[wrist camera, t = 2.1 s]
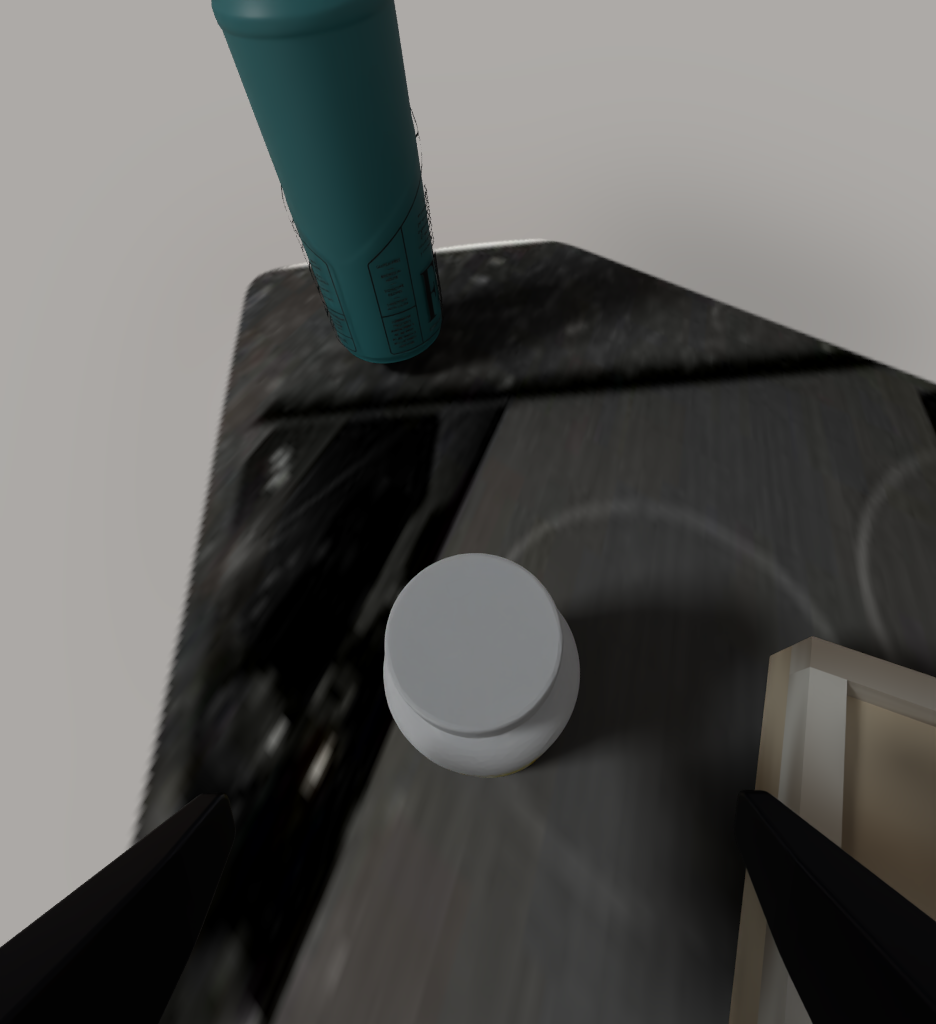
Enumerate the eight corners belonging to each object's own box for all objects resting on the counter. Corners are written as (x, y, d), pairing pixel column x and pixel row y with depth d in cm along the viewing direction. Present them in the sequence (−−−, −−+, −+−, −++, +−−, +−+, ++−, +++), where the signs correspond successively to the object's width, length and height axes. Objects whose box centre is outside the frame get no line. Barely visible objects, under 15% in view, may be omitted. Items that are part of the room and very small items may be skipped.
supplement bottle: (489, 607, 21) (479, 486, 12) (586, 702, 18) (656, 636, 10) (394, 698, 19) (305, 631, 11) (488, 814, 17) (470, 848, 8)
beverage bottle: (453, 377, 28) (366, -293, 10) (341, 393, 28) (69, -253, 10) (443, 307, 31) (364, -293, 14) (343, 321, 31) (138, -262, 14)
